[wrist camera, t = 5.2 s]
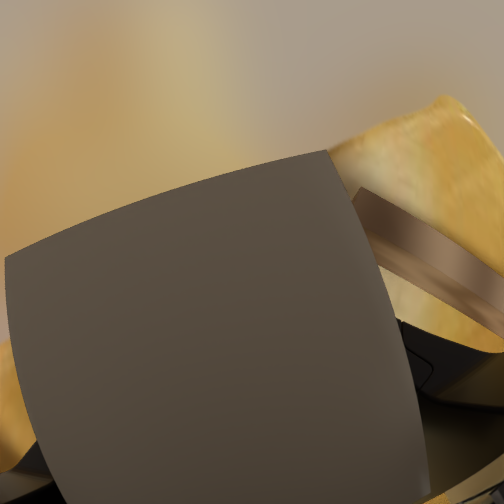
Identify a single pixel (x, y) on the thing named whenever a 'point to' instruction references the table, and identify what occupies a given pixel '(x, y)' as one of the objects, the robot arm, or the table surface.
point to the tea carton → (218, 349)
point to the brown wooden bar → (431, 261)
